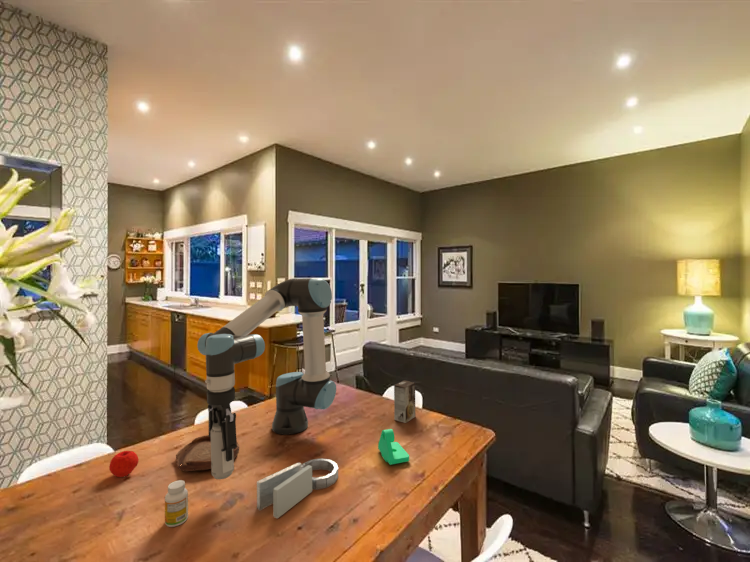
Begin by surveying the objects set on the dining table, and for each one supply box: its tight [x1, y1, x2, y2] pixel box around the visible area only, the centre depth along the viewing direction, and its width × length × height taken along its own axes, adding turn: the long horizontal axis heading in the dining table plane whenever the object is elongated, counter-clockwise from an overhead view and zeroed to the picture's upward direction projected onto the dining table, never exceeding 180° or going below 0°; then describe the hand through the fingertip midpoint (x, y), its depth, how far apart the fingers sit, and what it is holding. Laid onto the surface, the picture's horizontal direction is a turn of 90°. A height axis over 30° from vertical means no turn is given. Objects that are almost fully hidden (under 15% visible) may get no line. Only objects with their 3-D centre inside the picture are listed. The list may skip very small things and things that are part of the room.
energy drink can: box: [210, 421, 235, 480], centre depth 103 cm, size 6×6×15 cm
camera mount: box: [377, 428, 410, 466], centre depth 126 cm, size 12×8×10 cm, turn 19°
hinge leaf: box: [272, 465, 313, 519], centre depth 100 cm, size 2×14×8 cm, turn 149°
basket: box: [175, 434, 240, 472], centre depth 126 cm, size 22×20×5 cm
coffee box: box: [393, 380, 417, 424], centre depth 161 cm, size 9×6×16 cm
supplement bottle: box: [164, 479, 189, 528], centre depth 93 cm, size 5×5×10 cm
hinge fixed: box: [256, 458, 339, 511], centre depth 108 cm, size 12×27×8 cm, turn 137°
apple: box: [108, 450, 140, 478], centre depth 116 cm, size 8×8×7 cm
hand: (222, 466), depth 103 cm, fingers closed on energy drink can, 6 cm apart
